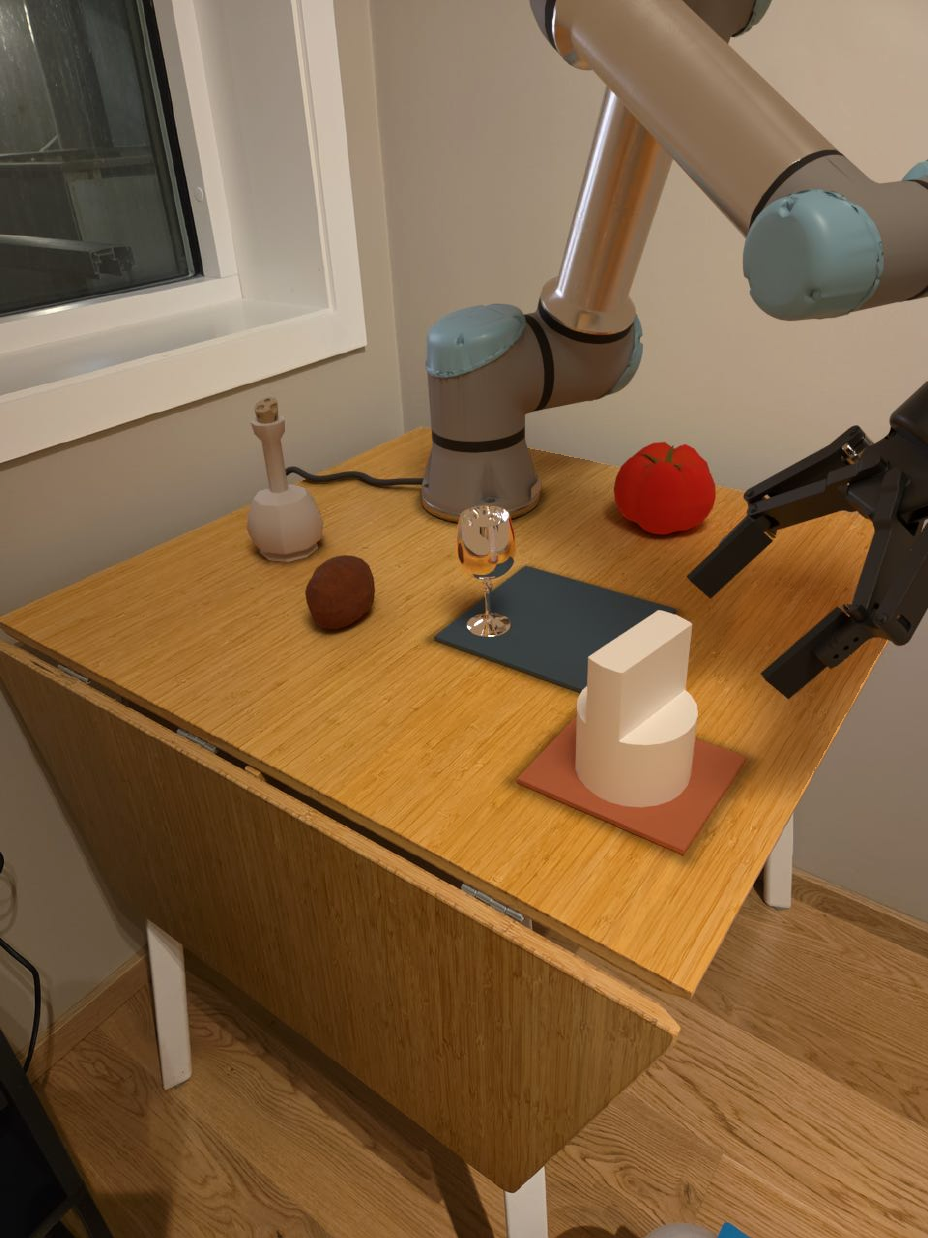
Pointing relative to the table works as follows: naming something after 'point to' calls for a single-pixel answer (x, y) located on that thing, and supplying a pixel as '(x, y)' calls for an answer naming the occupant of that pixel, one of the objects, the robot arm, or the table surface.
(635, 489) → the tomato
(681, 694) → the base with upright slab
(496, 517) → the wineglass
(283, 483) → the potion bottle
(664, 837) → the mat
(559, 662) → the mat
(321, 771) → the table surface
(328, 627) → the potato
